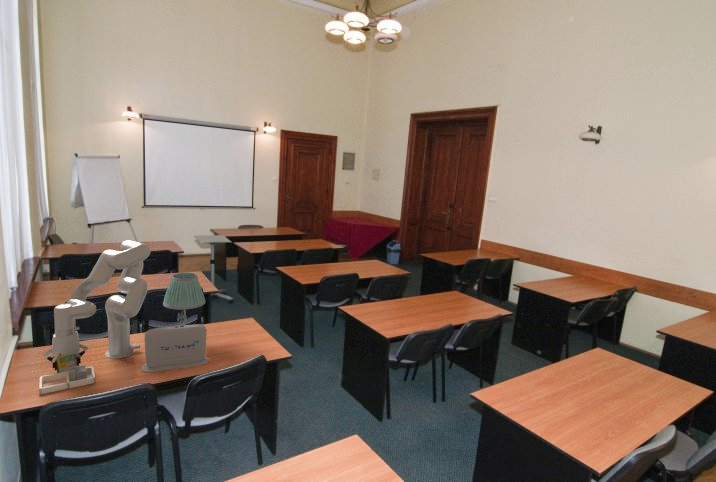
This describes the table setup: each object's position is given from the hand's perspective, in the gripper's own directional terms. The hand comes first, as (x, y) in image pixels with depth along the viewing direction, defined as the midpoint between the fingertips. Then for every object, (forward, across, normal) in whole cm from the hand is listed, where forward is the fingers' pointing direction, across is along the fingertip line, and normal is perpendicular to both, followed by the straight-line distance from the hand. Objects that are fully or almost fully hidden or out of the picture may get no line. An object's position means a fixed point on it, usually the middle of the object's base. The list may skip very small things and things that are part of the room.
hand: (67, 366), depth 181 cm
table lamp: (+4, -53, -8) cm, 54 cm away
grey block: (+3, -5, +10) cm, 11 cm away
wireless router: (+4, -44, +13) cm, 46 cm away
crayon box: (+4, 0, 0) cm, 4 cm away
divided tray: (+4, 0, +10) cm, 11 cm away
